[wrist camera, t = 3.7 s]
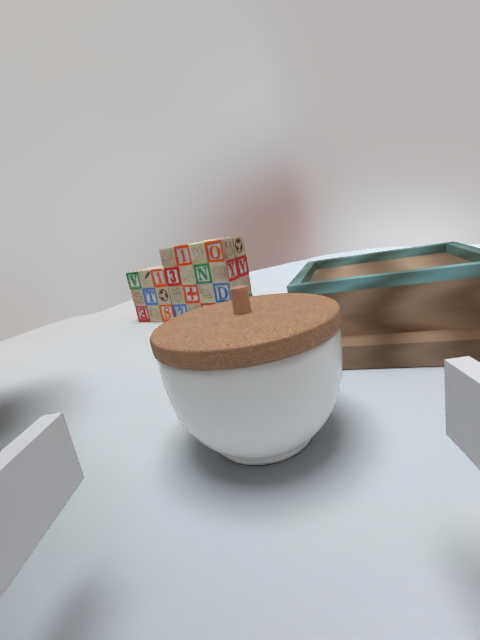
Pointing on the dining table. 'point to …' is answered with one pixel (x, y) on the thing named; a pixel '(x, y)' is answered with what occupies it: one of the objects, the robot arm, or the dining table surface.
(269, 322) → the lidded jar
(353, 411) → the dining table surface
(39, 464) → the robot arm
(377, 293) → the base
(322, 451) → the dining table surface
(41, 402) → the dining table surface
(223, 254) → the stack of blocks
